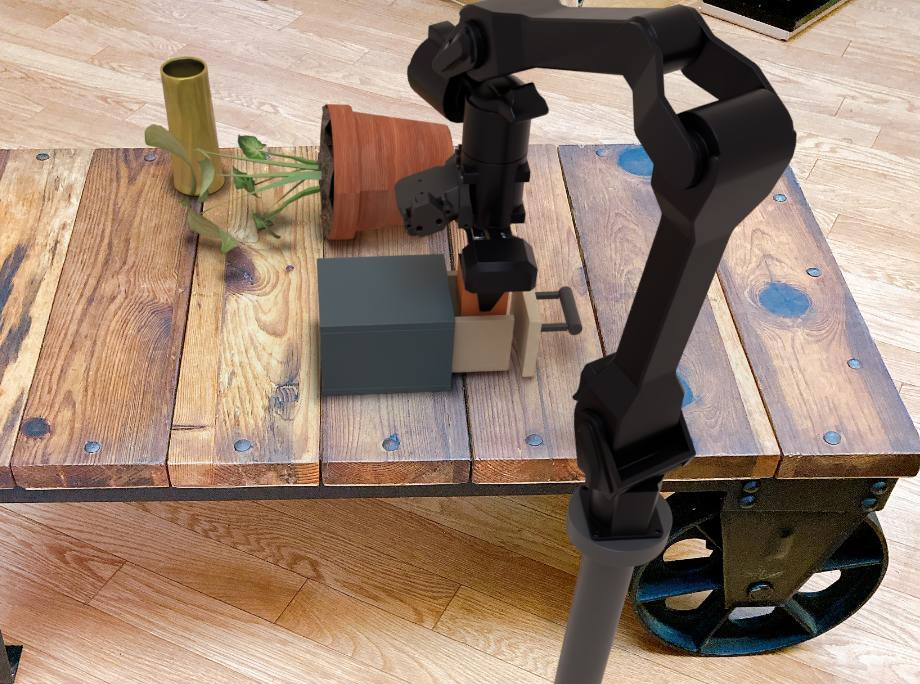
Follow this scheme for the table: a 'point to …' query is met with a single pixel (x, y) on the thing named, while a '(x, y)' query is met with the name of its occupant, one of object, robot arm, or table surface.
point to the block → (476, 300)
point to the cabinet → (385, 324)
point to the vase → (191, 120)
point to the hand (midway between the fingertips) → (481, 295)
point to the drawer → (507, 331)
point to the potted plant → (330, 170)
